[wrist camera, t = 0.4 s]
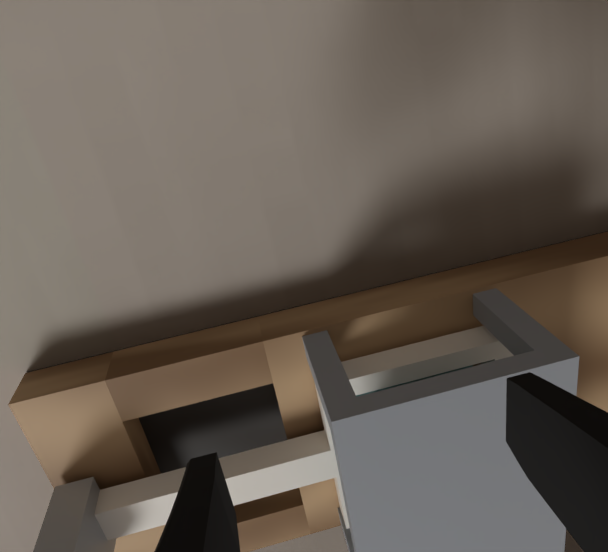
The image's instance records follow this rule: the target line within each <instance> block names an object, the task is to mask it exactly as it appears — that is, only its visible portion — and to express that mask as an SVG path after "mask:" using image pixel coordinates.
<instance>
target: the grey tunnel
mask: <svg viewBox="0 0 608 552" xmlns="http://www.w3.org/2000/svg"><path fill="white" fill-rule="evenodd" d="M473 316H474V317H475V318H476V319H477V320H478V321H480V322H481V323H482V324H483V325H484V326H485V327H486V328H487V329H488V330H489V331H490V332H491V333H492V334H493V335H494V336H495V337H496V338H497V339H498V340H499V341H500V342H501V343H502V344H503V345H504V346H505V347H506V348H507V349H508V350H509V351H510V352H511V353H512V354H513V355H514V356H511V357H507V358H503V359H499V360H496V361H492V362H488V363H484V364H480V365H477V366H473V367H469V368H465V369H461V370H458V371H454V372H450V373H446V374H442V375H438V376H435V377H431V378H427V379H423V380H419V381H416V382H412V383H408V384H404V385H400V386H397V387H393V388H389V389H385V390H381V391H378V392H374V393H370V394H366V395H362V396H358V397H356V395H355V393H354V390H353V388H352V386H351V384H350V381H349V379H348V377H347V374H346V372H345V370H344V368H343V365H342V363H341V361H340V359H339V356H338V354H337V352H336V349H335V347H334V345H333V343H332V340H331V338H330V336H329V334H328V331H327V330H325V331H321V332H317V333H313V334H309V335H305V336H302V339H303V344H304V349H305V353H306V358H307V361H308V364H309V367H310V370H311V373H312V376H313V379H314V382H315V385H316V388H317V391H318V394H319V397H320V400H321V403H322V406H323V409H324V412H325V415H326V418H327V421H328V424H329V427H330V430H331V435H332V440H333V445H334V450H335V456H336V461H337V466H338V471H339V476H340V481H341V486H342V491H343V496H344V501H345V506H346V511H347V517H348V522H349V527H350V528H348V529H346V525H345V522H344V519H343V515H342V512H341V509H340V507H339V508H338V513H339V518H340V523H341V526H342V529H343V533H344V536H345V540H346V543H347V547H348V550H349V552H564V550H565V537H566V527H565V526H564V525H563V524H562V522H561V521H560V520H559V518H558V517H557V516H556V515H555V513H554V512H553V511H552V509H551V508H550V507H549V506H548V504H547V503H546V502H545V500H544V499H543V498H542V496H541V495H540V494H539V492H538V491H537V490H536V489H535V487H534V486H533V485H532V483H531V482H530V481H529V479H528V478H527V476H526V474H525V473H524V471H523V470H522V468H521V466H520V465H519V463H518V461H517V460H516V458H515V456H514V455H513V453H512V451H511V449H510V448H509V446H508V444H507V442H506V387H507V378H509V377H513V376H517V375H520V374H524V373H528V372H531V373H533V374H535V375H537V376H539V377H541V378H543V379H545V380H547V381H549V382H550V383H552V384H554V385H556V386H558V387H560V388H562V389H564V390H566V391H567V392H569V393H571V394H573V395H575V396H576V394H577V381H578V368H579V355H577V354H576V353H575V352H574V351H572V350H571V349H570V348H569V347H568V346H566V345H565V344H564V343H563V342H561V341H560V340H559V339H558V338H557V337H555V336H554V335H553V334H552V333H550V332H549V331H548V330H547V329H546V328H544V327H543V326H542V325H541V324H539V323H538V322H537V321H536V320H535V319H533V318H532V317H531V316H530V315H528V314H527V313H526V312H525V311H524V310H522V309H521V308H520V307H519V306H517V305H516V304H515V303H514V302H513V301H511V300H510V299H509V298H508V297H506V296H505V295H504V294H503V293H502V292H500V291H499V290H498V289H497V288H494V289H490V290H486V291H482V292H478V293H474V294H473Z"/></svg>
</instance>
